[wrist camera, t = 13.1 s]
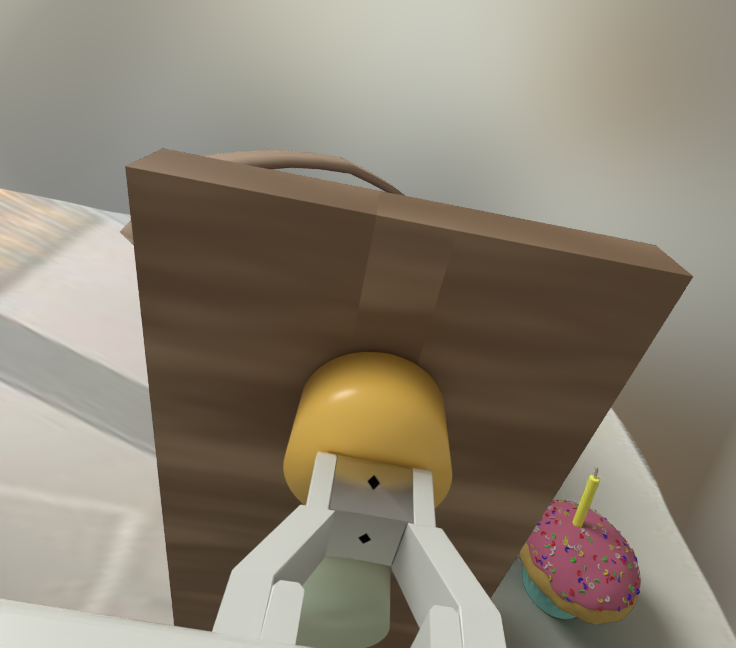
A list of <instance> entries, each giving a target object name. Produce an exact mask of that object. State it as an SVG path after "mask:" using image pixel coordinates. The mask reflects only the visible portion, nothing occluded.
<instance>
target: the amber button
mask: <svg viewBox="0 0 736 648" xmlns="http://www.w3.org/2000/svg"><path fill="white" fill-rule="evenodd" d="M318 451H321V452H326V453H332V454H337V455H343V456H348V457H353V458H358V459H363V460H368V461H373V462H374V461H376V462H382V463H389V464H395V465H401V466H407V467H411V468H418V469H423V470H429V471H431V473H432V476H433V490H434V504H435V508H436V507H437V506H438V505H439V504H440V503H441V502H442V501H443V499H444V498H445V497H446V495H447V493H448V491H449V489H450V486H451V482H452V466H451V458H450V449H449V441H448V432H447V424H446V416H445V407H444V400H443V396H442V393H441V391H440V389H439V387H438V385H437V384H436V382H435V381H434V379H433V378H432V377H431V376H430V375H429V374H428V373H427V372H426V371H424V370H423V369H422V368H421V367H419V366H418V365H416V364H414V363H413V362H411V361H409V360H406V359H404V358H401V357H398V356H395V355H391V354H387V353H380V352H358V353H352V354H347V355H343V356H340V357H337V358H335V359H333V360H331V361H329V362H327V363H325V364H324V365H322V366H321V367H320V368H318V369H317V370H316V371H315V372H314V373H313V374H312V375H311V376H310V378H309V379H308V381H307V382H306V384H305V386H304V389H303V391H302V395H301V399H300V402H299V406H298V410H297V413H296V417H295V421H294V424H293V428H292V432H291V435H290V439H289V443H288V446H287V450H286V454H285V458H284V466H283V470H284V476H285V479H286V482H287V484H288V486H289V488H290V490H291V491H292V493H293V494H294V495H295V496H296V498H297V499H298V500H299V501H300V502H301V503H302V504H304V505H306V504H307V499H308V494H309V489H310V484H311V479H312V475H313V470H314V465H315V460H316V456H317V453H318Z"/></svg>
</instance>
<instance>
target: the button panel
mask: <svg viewBox="0 0 736 648" xmlns="http://www.w3.org/2000/svg"><path fill="white" fill-rule="evenodd" d="M125 168H126V177H127V186H128V196H129V205H130V215H131V224H132V233H133V243H134V252H135V262H136V271H137V280H138V290H139V299H140V308H141V318H142V327H143V336H144V346H145V355H146V364H147V374H148V383H149V393H150V402H151V411H152V421H153V430H154V439H155V449H156V458H157V467H158V477H159V486H160V495H161V505H162V514H163V524H164V533H165V542H166V552H167V561H168V570H169V580H170V589H171V598H172V608H173V617H174V626H178V627H184V628H191V629H197V630H204V631H210V632H212V630H213V627H214V624H215V621H216V618H217V615H218V612H219V609H220V606H221V602H222V599H223V596H224V593H225V590H226V587H227V584H228V581H229V578H230V575H231V572H232V570H233V569H234V568H235V567H236V566H237V565H238V564H239V563H240V562H241V561H242V560H243V559H244V558H245V557H246V556H247V555H248V554H249V553H250V552H251V551H252V550H254V549H255V548H256V547H257V546H258V545H259V544H260V543H261V542H262V541H263V540H264V539H265V538H266V537H267V536H268V535H269V534H270V533H271V532H272V531H273V530H274V529H276V528H277V527H278V526H279V525H280V524H281V523H282V522H283V521H284V520H285V519H286V518H287V517H288V516H289V515H290V514H291V513H292V512H293V511H294V510H295V509H296V508H298V507H299V506H300V505H304V504H302V503H301V502H300V501H299V500H298V499H297V498H296V496H295V495H294V494H293V493H292V491H291V490H290V488H289V486H288V484H287V482H286V479H285V476H284V470H283V466H284V458H285V454H286V450H287V446H288V443H289V439H290V435H291V432H292V428H293V424H294V421H295V417H296V413H297V410H298V406H299V402H300V399H301V395H302V391H303V389H304V386H305V384H306V382H307V381H308V379H309V378H310V376H311V375H312V374H313V373H314V372H315V371H316V370H317V369H318V368H320V367H321V366H322V365H324V364H325V363H327V362H329V361H331V360H333V359H335V358H337V357H340V356H343V355H347V354H352V353H358V352H380V353H387V354H391V355H395V356H398V357H401V358H404V359H406V360H409V361H411V362H413V363H414V364H416V365H418V366H419V367H421V368H422V369H423V370H424V371H426V372H427V373H428V374H429V375H430V376H431V377H432V378H433V379H434V381H435V382H436V384H437V385H438V387H439V389H440V391H441V393H442V396H443V400H444V407H445V416H446V424H447V432H448V441H449V449H450V458H451V466H452V482H451V486H450V489H449V491H448V493H447V495H446V497H445V498H444V499H443V501H442V502H441V503H440V504H439V505H438V506H437V507H436V508H435V518H436V528H441V529H442V530H443V531H444V532H445V534H446V535H447V537H448V538H449V540H450V541H451V543H452V544H453V546H454V547H455V549H456V550H457V551H458V553H459V554H460V556H461V557H462V559H463V560H464V562H465V563H466V565H467V566H468V567H469V569H470V570H471V572H472V573H473V575H474V576H475V578H476V579H477V581H478V582H479V583H480V585H481V586H482V588H483V589H484V591H485V592H486V594H487V595H488V597H489V598H491V597H492V595H493V593H494V592H495V590H496V589H497V587H498V586H499V584H500V582H501V581H502V579H503V578H504V576H505V574H506V573H507V571H508V570H509V568H510V567H511V565H512V563H513V562H514V560H515V559H516V557H517V555H518V554H519V552H520V551H521V549H522V547H523V546H524V544H525V543H526V541H527V540H528V538H529V536H530V535H531V533H532V532H533V530H534V528H535V527H536V525H537V524H538V522H539V520H540V519H541V517H542V516H543V514H544V513H545V511H546V509H547V508H548V506H549V505H550V503H551V501H552V500H553V498H554V497H555V495H556V494H557V492H558V490H559V489H560V487H561V486H562V484H563V482H564V481H565V479H566V478H567V476H568V474H569V473H570V471H571V470H572V468H573V467H574V465H575V463H576V462H577V460H578V459H579V457H580V455H581V454H582V452H583V451H584V449H585V448H586V446H587V444H588V443H589V441H590V440H591V438H592V436H593V435H594V433H595V432H596V430H597V428H598V427H599V425H600V424H601V422H602V421H603V419H604V417H605V416H606V414H607V413H608V411H609V409H610V408H611V406H612V405H613V403H614V401H615V400H616V398H617V397H618V395H619V394H620V392H621V390H622V389H623V387H624V386H625V384H626V382H627V381H628V379H629V378H630V376H631V375H632V373H633V371H634V370H635V368H636V367H637V365H638V363H639V362H640V360H641V359H642V357H643V355H644V354H645V352H646V351H647V349H648V347H649V346H650V344H651V343H652V341H653V339H654V338H655V336H656V335H657V333H658V332H659V330H660V329H661V327H662V325H663V323H664V322H665V321H666V319H667V317H668V316H669V314H670V312H671V311H672V309H673V308H674V306H675V305H676V303H677V302H678V300H679V298H680V297H681V295H682V294H683V292H684V290H685V289H686V287H687V286H688V284H689V282H690V281H691V279H692V278H693V276H692V275H691V274H690V273H688V272H687V271H686V270H685V269H684V268H682V267H681V266H680V265H679V264H677V263H676V262H675V261H674V260H673V259H672V258H670V257H669V256H668V255H667V254H666V253H664V252H663V251H662V250H660V248H658V247H657V246H656V245H652V244H647V243H642V242H637V241H632V240H627V239H621V238H617V237H612V236H607V235H601V234H596V233H591V232H586V231H581V230H576V229H571V228H566V227H561V226H556V225H550V224H545V223H540V222H535V221H530V220H525V219H520V218H515V217H509V216H505V215H499V214H495V213H489V212H484V211H479V210H474V209H469V208H463V207H459V206H453V205H449V204H443V203H439V202H433V201H428V200H422V199H418V198H412V197H408V196H403V195H398V194H393V193H388V192H383V191H377V190H372V189H367V188H362V187H357V186H352V185H347V184H341V183H337V182H332V181H327V180H321V179H316V178H311V177H306V176H301V175H296V174H291V173H286V172H280V171H276V170H271V169H265V168H260V167H255V166H250V165H245V164H240V163H235V162H230V161H225V160H220V159H215V158H209V157H204V156H199V155H194V154H189V153H183V152H179V151H174V150H168V149H164V148H162V149H160V150H158V151H156V152H154V153H152V154H150V155H148V156H146V157H144V158H142V159H139V160H137V161H135V162H133V163H131V164H129V165H127V166H125ZM391 567H392V566H391ZM419 630H420V628H419V626H418V624H417V622H416V620H415V618H414V615H413V613H412V611H411V609H410V607H409V605H408V603H407V601H406V598H405V596H404V594H403V592H402V590H401V588H400V586H399V583H398V581H397V579H396V577H395V575H394V573H393V571H392V568H391V579H390V628H389V632H388V634H387V635H386V636H385V638H384V639H382V640H381V641H380V642H378V643H377V644H375V645H372V646H370V647H367V648H411V646H412V644H413V642H414V640H415V638H416V636H417V634H418V632H419Z"/></svg>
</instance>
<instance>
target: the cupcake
mask: <svg viewBox="0 0 736 648" xmlns="http://www.w3.org/2000/svg"><path fill="white" fill-rule="evenodd" d="M597 473H598V468H597V467H595V471H594V475H590V477H589V479H588V482H587V485H586V487H585V490H584V493H583V495H582V498H581V500H580V503H579V504H576V503H575V502H573V503H572V502H571V501H569V500H568V502H567V501H562V500H553V501H551V503H550V505H549V506H548V508H547V509H546V511H545V513H544V514H543V516H542V517H541V519H540V520H539V522H538V524H537V525H536V527H535V528H534V530H533V532H532V533H531V535H530V536H529V538H528V540H527V541H526V543H525V544H524V546H523V547H522V549H521V551H520V552H519V556H520V559H521V561H522V563H523V570H522V579H523V583H524V586H525V589H526V591H527V593H528V595H529V596H530V598H531V599H532V600H533V602H534V603H535V604H536V605H537V606H538V607H539V608H540V609H542V610H543V611H544V612H546V613H547V614H549V615H551V616H553V617H556V618H560V619H571V618H574V617H577V618H579V619H581V620H583V621H586V622H588V623H591V624H602V623H607V622H616V621H619V620H621V619H623V618H624V617H625V616H626V615H627V614H628V613H629V612H630V611H631V610H632V608H633V607H634V605H635V603H636V600H637V596H638V594H639V593H640V590H639V588H640V582H641V579H640V571H639V567H638V563H637V558H636V556H635V554H634V551H633V549H631V548H630V547H629V543H628V542H627V541H626V540H625V538H624V537H622V536H621V531H620V532H619V531H618V530H616V528H615V527H614V526H613V525H612V524H611V523H609V521H607V519H606V518H603V517H602V516H601V515H600V514H599V513H598V512H597V511H596V510H594V511H593V509H591V508H590V509H589V507H590V504H591V502H592V499H593V497H594V494H595V492H596V489H597V487H598V484H599V482H600V479H599V477H598V476H597ZM626 542H627V543H626Z"/></svg>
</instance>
